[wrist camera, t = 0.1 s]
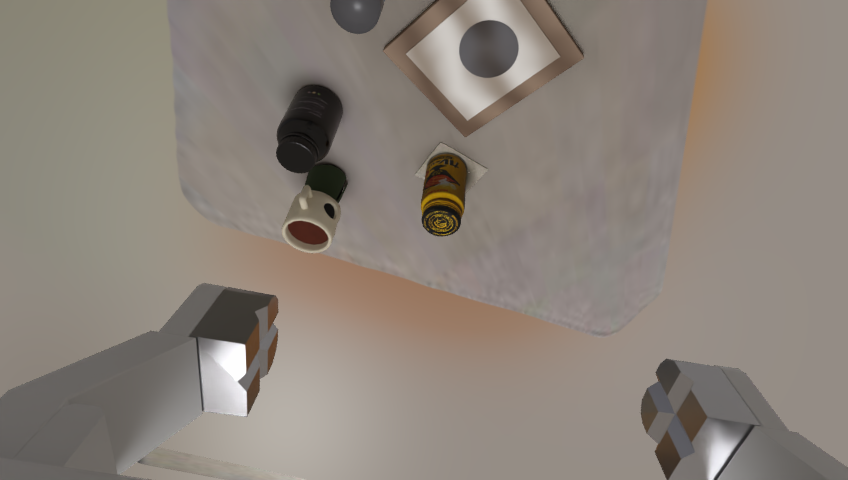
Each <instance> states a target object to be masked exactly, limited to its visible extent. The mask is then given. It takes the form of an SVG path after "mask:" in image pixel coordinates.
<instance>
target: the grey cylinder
mask: <svg viewBox="0 0 848 480" xmlns="http://www.w3.org/2000/svg"><path fill="white" fill-rule="evenodd" d="M384 1H385V0H331V2H330V7H331V12H332V15H333V17H334V19H335V21H336V22H337V23H338V25H339V26H341V27H342V28H343V29H344V30H346V31H348V32H351V33H355V34H362V33H366V32H368V31H370V30H371V29H373V28H374V26H375V25H376V24H377V22H378V19H379V17H380V14H381V12H382V9H383V5H384Z"/></svg>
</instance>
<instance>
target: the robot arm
mask: <svg viewBox="0 0 848 480" xmlns="http://www.w3.org/2000/svg"><path fill="white" fill-rule="evenodd" d="M277 314H278V299H277V297H276V296H274V295H269V294H263V293H258V292H253V291H247V290H242V289H236V288H231V287H228V288H227V287H224V286H218V285H212V284H206V283H203V284H201V285H199V286H197V287H196V289H195V290H194V291H193V292H192V293H191V295H190V296H189V297H188V298H187V299H186V300H185V302H184V303H183V304H182V305H181V306H180V307H179V309H178V310H177V311H176V312H175V313H174V315H173V316H172V317H171V318H170V319H169V320H168V322H167V323H166V324H165V325H164V326H163V328H162V329H161V330H160V331H159V332H155V331H150V332H147V333H145V334H142V335H140V336H138V337H135V338H133V339H130V340H128V341H126V342H123V343H121V344H118V345H116V346H113V347H111V348H109V349H106V350H104V351H101V352H99V353H97V354H94V355H92V356H89V357H87V358H85V359H82V360H80V361H78V362H75V363H73V364H70V365H68V366H66V367H63V368H61V369H58V370H56V371H54V372H51V373H49V374H46V375H44V376H42V377H39V378H37V379H34V380H32V381H30V382H27V383H25V384H23V385H20V386H18V387H15V388H13V389H11V390H8V391H7V392H6V393H5V394H4V395H3V396H2V397H1V398H0V480H149V479H143V478H136V477H129V476H123V475H120V474H121V473H122V472H124V471H125V470H126V469H128V468H129V467H131V466H132V465H133V464H135V463H136V462H137V461H139V460H140V459H141V458H143V457H144V456H146V455H147V454H148V453H150V452H151V451H152V450H154V449H155V448H156V447H158V446H159V445H161V444H162V443H163V442H165V441H166V440H167V439H169V438H170V437H171V436H173V435H174V434H175V433H177V432H178V431H180V430H181V429H182V428H183V427H185V426H186V425H188V424H189V423H190V422H192V421H193V420H195V419H196V418H197V417H198V416H200V415H201V414H202V411H204V412H212V413H220V414H228V415H236V416H244V417H247V416H248V414H249V412H250V410H251V408H252V406H253V404H254V401H255V399H256V397H257V395H258V393H259V390H260V378H262V377H264V376H265V375H267V374H268V372H269V370H270V367H271V365H272V363H273V359H274V356H275V352H276V347H277V341H278V329H277V328H276V326H275V325H274V324H273V322H274V320H275V318H276V316H277ZM656 376H657V378H658V382H657V383H655V384H653V385H652V386H650V387H649V388H647V390H646V392H645V394H644V397H643V399H642V404H641V417H642V423H643V425H644V428H645V430H646V433H647V434H648V435H649V436H650V437H651V438H652V439H653V440H655V441H656V442H657V443H658V445H657V448H656V450H655V453H656V456H657V458H658V461H659V463H660V465H661V467H662V470H663V472H664V474H665V477H666V479H667V480H848V467H846V466H845V465H843V464H842V463H840V462H839V461H838V460H836V459H835V458H833V457H832V456H830V455H829V454H827V453H826V452H825V451H823V450H822V449H820V448H819V447H817V446H816V445H814V444H813V443H812V442H810V441H809V440H807V439H806V438H804V437H803V436H802V435H800V434H799V433H797V432H792V431H789V430H788V429H787V427H786V426H785V425H784V423H783V422H782V421H781V419H780V418H779V417H778V415H777V414H776V413H775V411H774V410H773V409H772V408H771V406H770V405H769V404H768V402H767V401H766V400H765V398H764V397H763V396H762V394H761V393H760V392H759V390H758V389H757V388H756V386H755V385H754V384H753V382H752V381H751V380H750V378H749V377H748V376H747V375H746V373H744V372H743V371H741V370H740V369H738V368H730V367H723V366H715V365H714V366H710V365H703V364H697V363H691V362H684V361H677V360H671V359H665V360H664V361H663V362H662V363H661V364H660V365H659V367H658V369H657V371H656Z"/></svg>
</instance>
